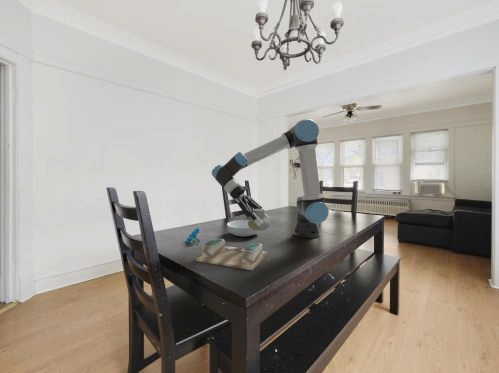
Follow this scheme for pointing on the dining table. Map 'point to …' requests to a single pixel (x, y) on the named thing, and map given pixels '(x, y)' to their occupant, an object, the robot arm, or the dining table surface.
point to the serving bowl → (240, 228)
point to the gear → (193, 236)
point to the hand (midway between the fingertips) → (264, 222)
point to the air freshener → (261, 215)
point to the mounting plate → (232, 254)
